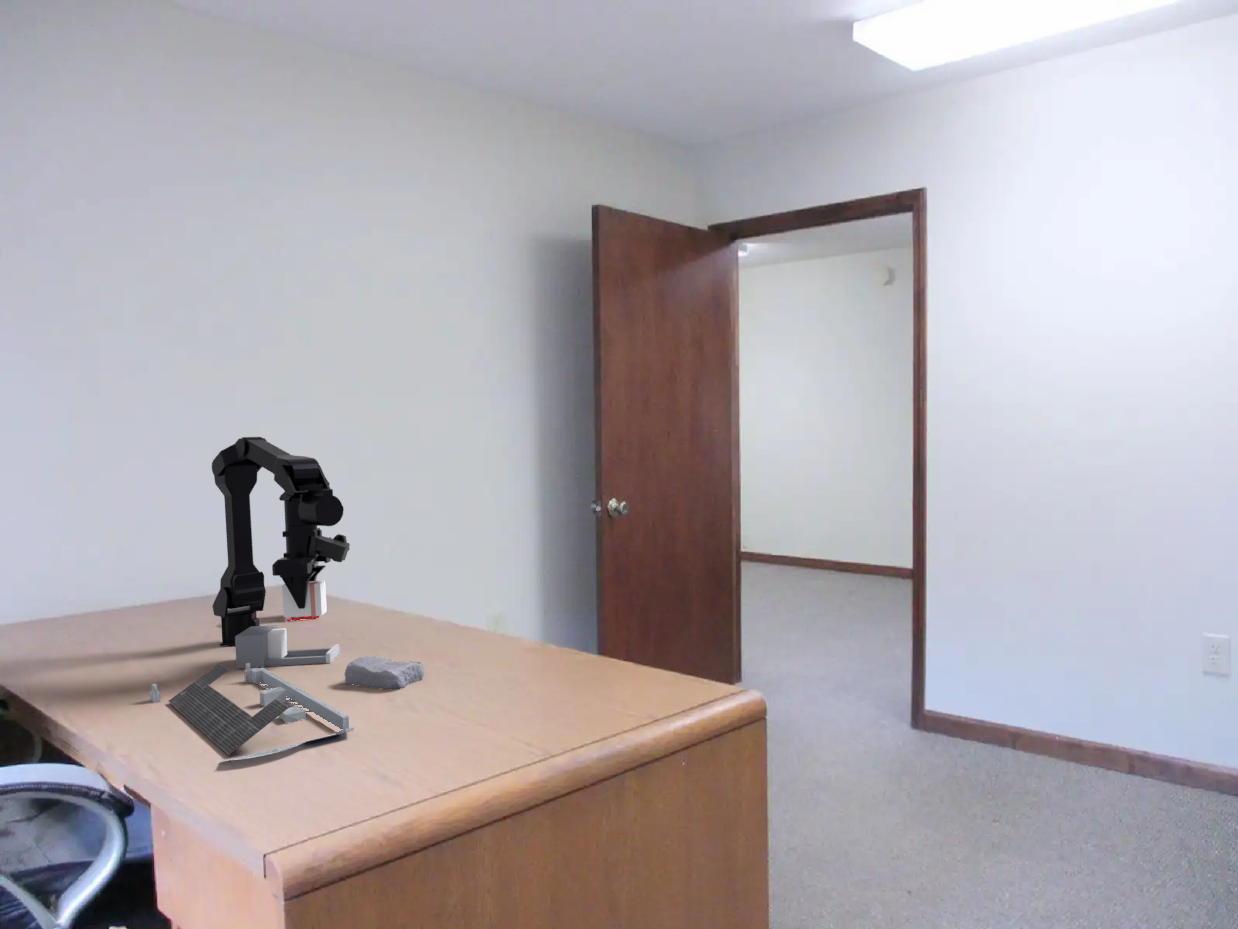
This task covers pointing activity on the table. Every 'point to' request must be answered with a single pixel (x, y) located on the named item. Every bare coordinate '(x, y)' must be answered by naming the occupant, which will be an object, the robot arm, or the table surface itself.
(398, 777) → the table surface
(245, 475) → the robot arm
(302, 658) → the grey frame stand
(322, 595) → the white banded block
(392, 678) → the stone block
